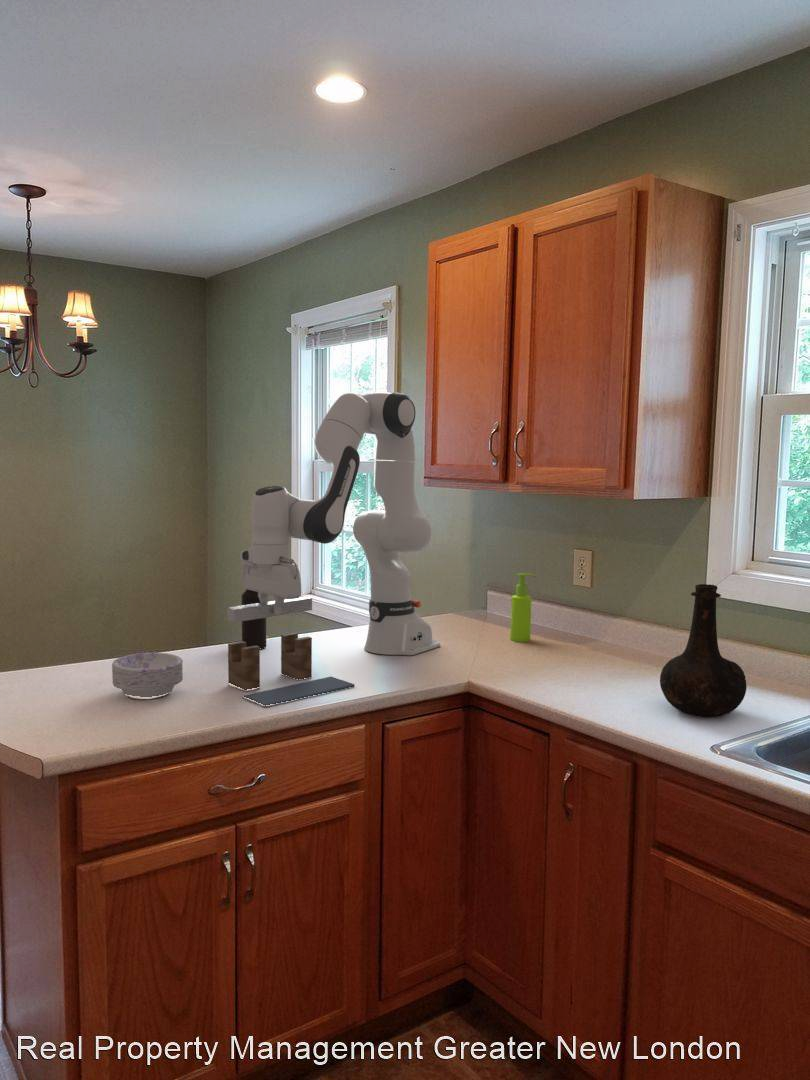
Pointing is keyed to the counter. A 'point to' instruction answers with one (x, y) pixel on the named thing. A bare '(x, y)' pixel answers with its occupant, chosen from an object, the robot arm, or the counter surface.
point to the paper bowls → (147, 673)
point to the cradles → (248, 661)
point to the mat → (299, 690)
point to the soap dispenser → (521, 611)
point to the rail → (268, 609)
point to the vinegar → (253, 623)
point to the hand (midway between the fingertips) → (271, 612)
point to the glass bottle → (703, 666)
